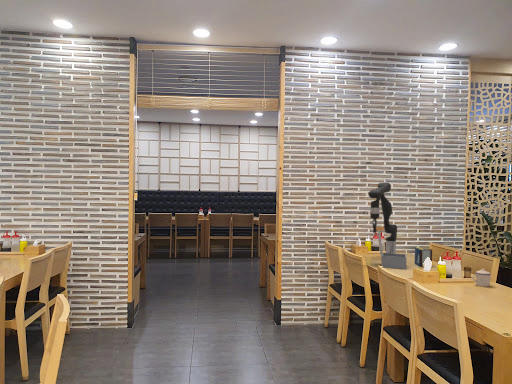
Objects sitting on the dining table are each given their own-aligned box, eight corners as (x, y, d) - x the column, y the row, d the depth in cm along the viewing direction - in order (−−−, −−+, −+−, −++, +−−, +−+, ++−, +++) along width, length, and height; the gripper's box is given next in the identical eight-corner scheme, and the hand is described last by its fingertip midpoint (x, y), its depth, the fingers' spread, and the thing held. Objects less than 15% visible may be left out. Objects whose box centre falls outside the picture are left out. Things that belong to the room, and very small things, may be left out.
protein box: (426, 264, 361) (426, 247, 360) (432, 267, 345) (432, 249, 345) (414, 263, 362) (414, 246, 361) (419, 267, 346) (420, 249, 346)
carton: (382, 263, 358) (382, 252, 358) (406, 265, 351) (406, 254, 351) (381, 267, 341) (381, 255, 341) (406, 269, 334) (406, 257, 334)
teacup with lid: (485, 283, 287) (485, 267, 287) (493, 287, 278) (493, 270, 278) (468, 283, 287) (469, 267, 287) (475, 286, 278) (476, 269, 278)
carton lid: (387, 252, 356) (377, 252, 359) (384, 225, 357) (374, 226, 360) (386, 255, 339) (376, 255, 342) (383, 227, 340) (372, 228, 343)
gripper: (370, 212, 359) (370, 231, 359) (369, 213, 346) (369, 233, 346) (379, 212, 357) (379, 232, 356) (378, 213, 344) (378, 233, 344)
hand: (374, 232), depth 351 cm, fingers closed
